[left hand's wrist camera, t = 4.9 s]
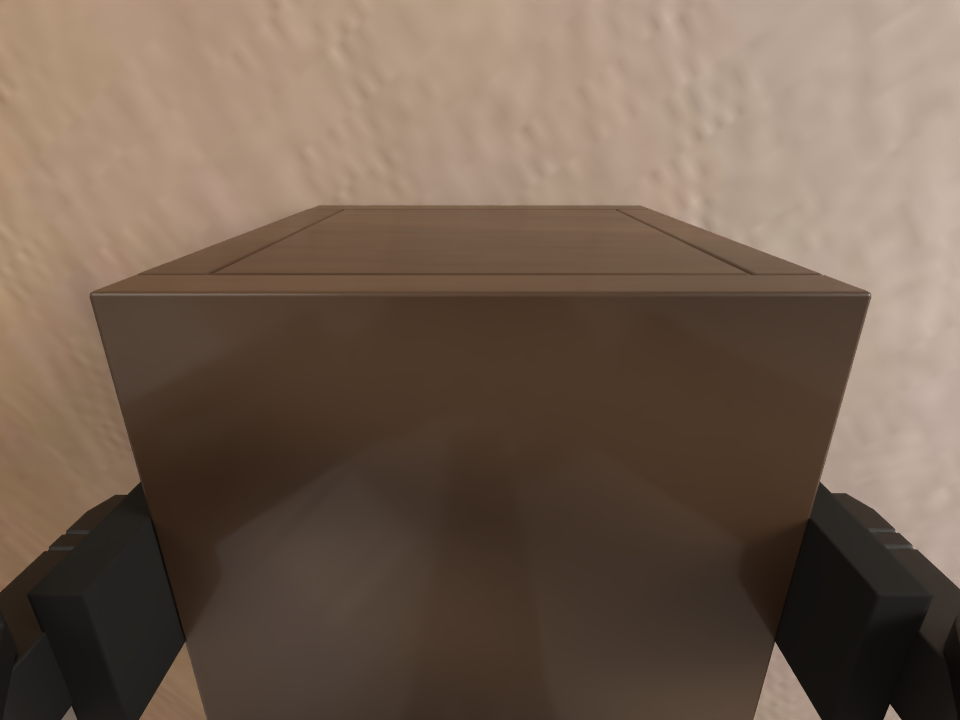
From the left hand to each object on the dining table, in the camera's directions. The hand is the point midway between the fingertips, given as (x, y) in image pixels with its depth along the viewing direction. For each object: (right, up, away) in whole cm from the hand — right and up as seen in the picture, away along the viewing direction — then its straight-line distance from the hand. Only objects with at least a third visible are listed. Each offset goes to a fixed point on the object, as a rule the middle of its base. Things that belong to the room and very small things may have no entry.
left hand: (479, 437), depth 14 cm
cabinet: (0, -3, +8) cm, 8 cm away
